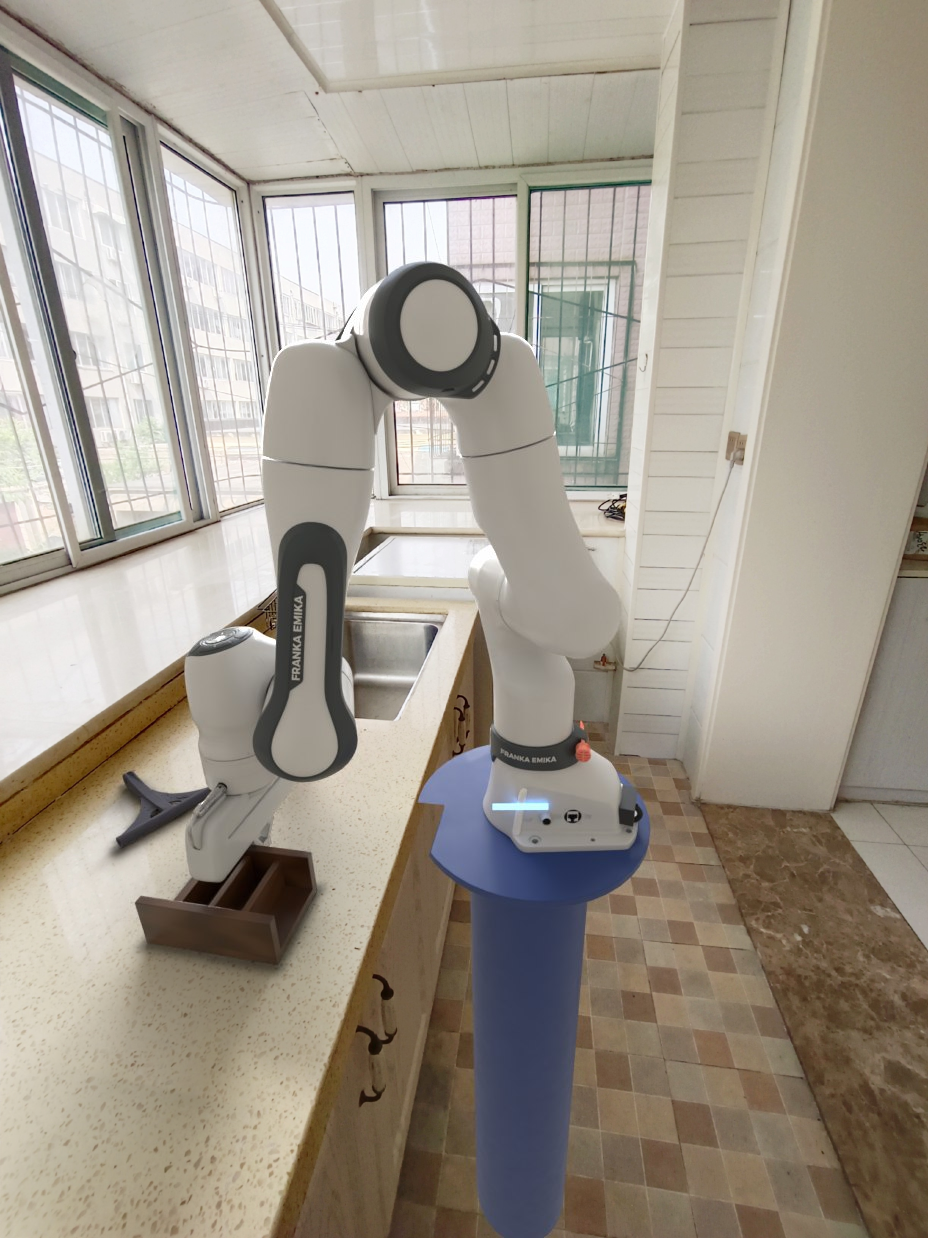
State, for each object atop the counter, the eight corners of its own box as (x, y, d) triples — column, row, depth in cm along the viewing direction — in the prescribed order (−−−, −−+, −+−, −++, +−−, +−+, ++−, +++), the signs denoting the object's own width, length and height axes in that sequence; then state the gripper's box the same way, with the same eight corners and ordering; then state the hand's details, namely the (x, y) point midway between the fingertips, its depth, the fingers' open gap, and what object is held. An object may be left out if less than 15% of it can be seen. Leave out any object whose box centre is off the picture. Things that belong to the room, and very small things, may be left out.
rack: (317, 890, 67) (311, 851, 65) (277, 965, 58) (269, 923, 56) (202, 873, 70) (192, 836, 68) (146, 943, 61) (134, 902, 59)
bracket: (173, 762, 93) (169, 748, 92) (220, 793, 85) (217, 779, 84) (79, 809, 83) (74, 794, 82) (123, 851, 74) (118, 835, 73)
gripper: (213, 824, 54) (235, 925, 59) (307, 718, 73) (318, 802, 78) (158, 816, 55) (185, 916, 60) (264, 714, 74) (278, 797, 79)
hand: (261, 851), depth 69 cm, fingers closed
